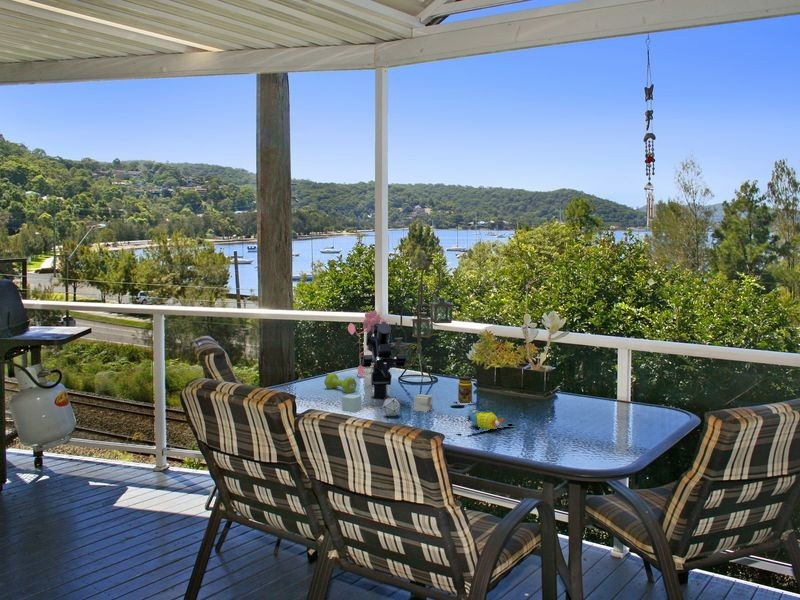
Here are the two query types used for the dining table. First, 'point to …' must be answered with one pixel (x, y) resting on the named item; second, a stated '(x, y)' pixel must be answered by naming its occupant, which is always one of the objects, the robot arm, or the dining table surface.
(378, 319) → the pink tall part
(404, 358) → the robot arm
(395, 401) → the game die
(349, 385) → the dumbbell
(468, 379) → the condiment
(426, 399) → the birch block
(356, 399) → the sage block
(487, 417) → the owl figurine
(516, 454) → the dining table surface
